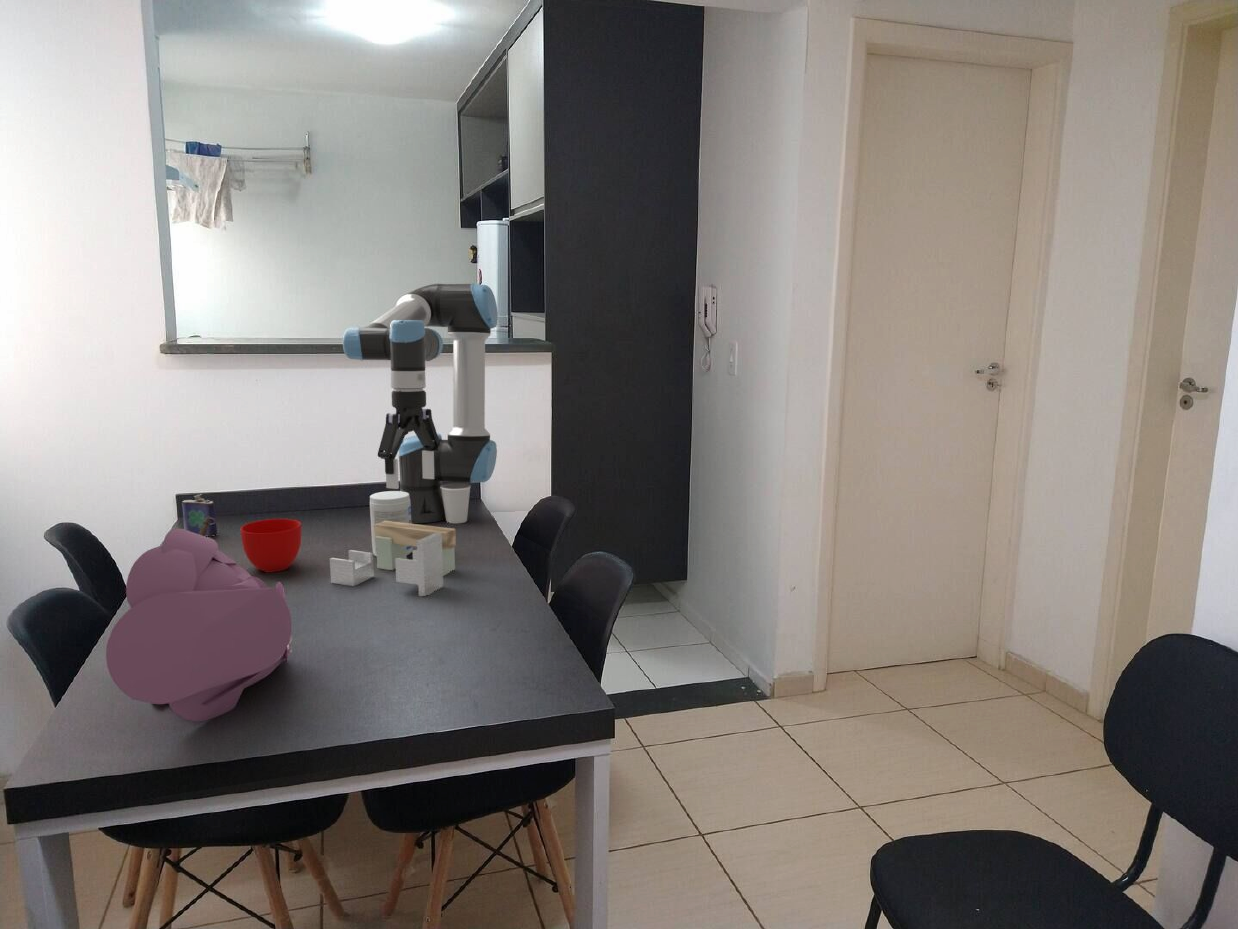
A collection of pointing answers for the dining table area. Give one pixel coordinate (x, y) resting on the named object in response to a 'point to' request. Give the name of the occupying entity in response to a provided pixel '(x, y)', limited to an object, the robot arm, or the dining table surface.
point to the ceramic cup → (271, 543)
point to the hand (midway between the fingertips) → (411, 483)
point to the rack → (405, 555)
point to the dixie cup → (456, 501)
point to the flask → (199, 515)
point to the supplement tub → (389, 511)
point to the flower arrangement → (196, 629)
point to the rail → (413, 533)
